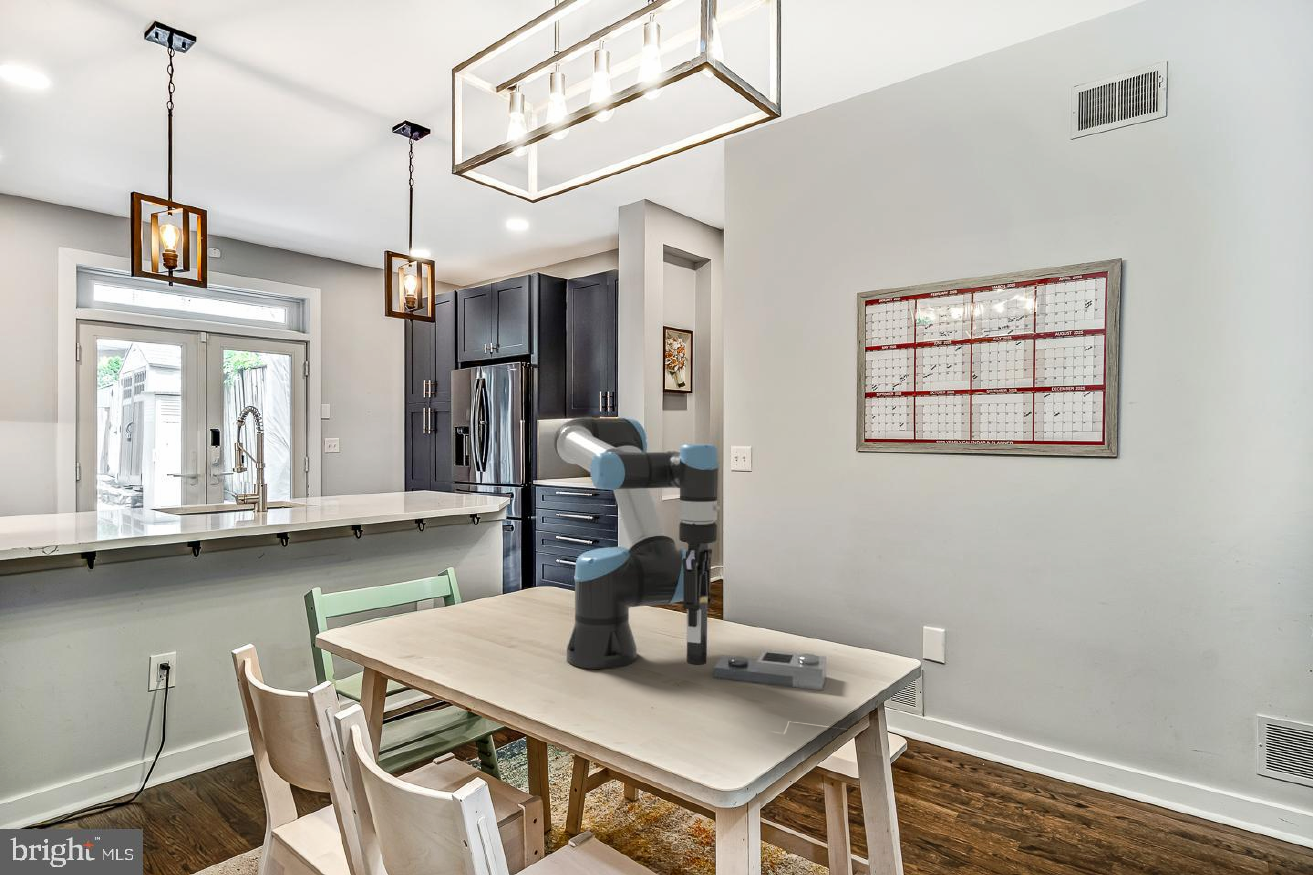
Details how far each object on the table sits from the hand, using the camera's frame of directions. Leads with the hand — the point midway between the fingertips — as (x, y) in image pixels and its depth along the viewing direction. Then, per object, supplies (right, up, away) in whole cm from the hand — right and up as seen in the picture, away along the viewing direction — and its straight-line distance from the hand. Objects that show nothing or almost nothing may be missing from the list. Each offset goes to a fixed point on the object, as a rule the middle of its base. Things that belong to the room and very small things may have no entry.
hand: (696, 638), depth 136 cm
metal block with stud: (+14, -8, 0) cm, 16 cm away
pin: (0, -5, 0) cm, 5 cm away
